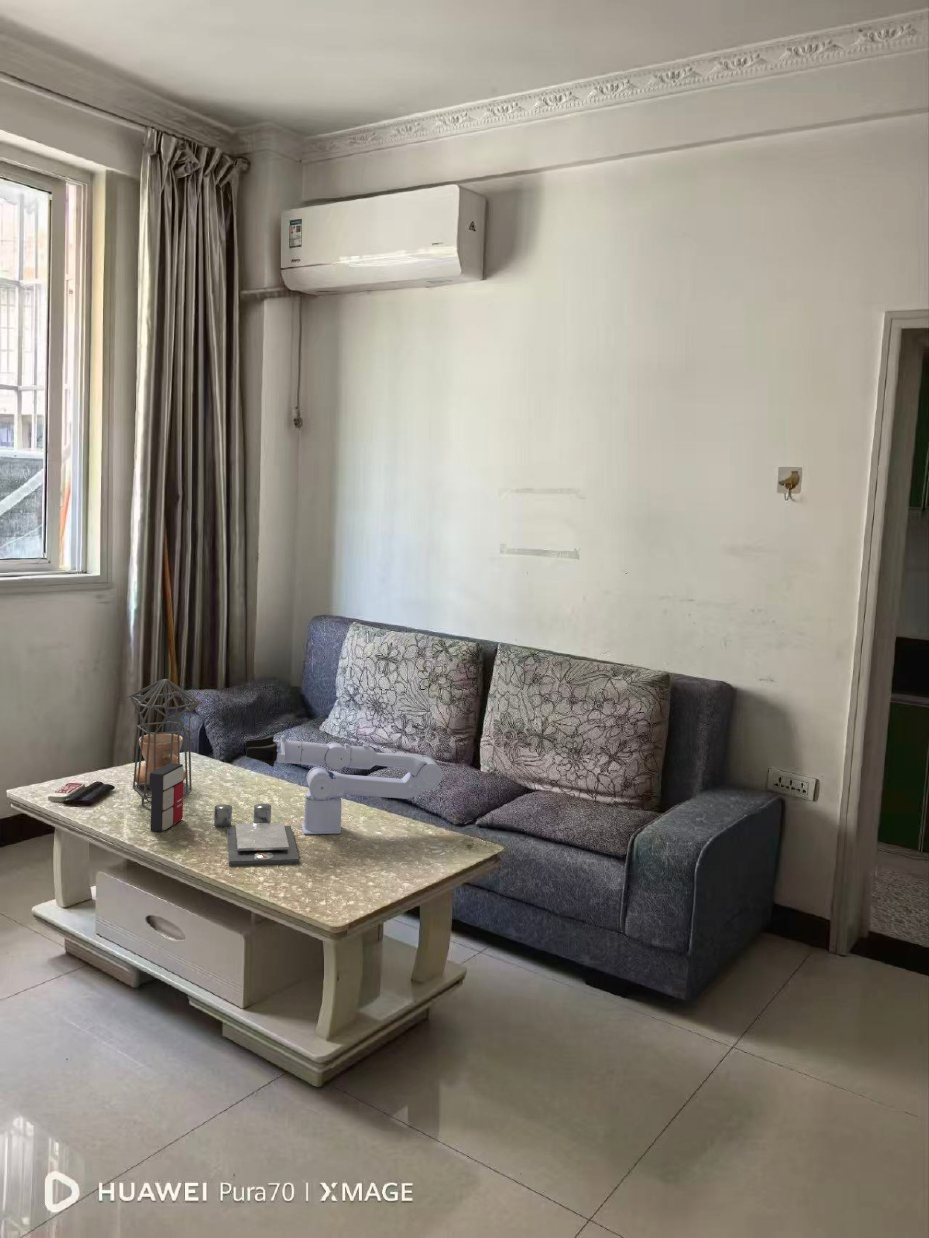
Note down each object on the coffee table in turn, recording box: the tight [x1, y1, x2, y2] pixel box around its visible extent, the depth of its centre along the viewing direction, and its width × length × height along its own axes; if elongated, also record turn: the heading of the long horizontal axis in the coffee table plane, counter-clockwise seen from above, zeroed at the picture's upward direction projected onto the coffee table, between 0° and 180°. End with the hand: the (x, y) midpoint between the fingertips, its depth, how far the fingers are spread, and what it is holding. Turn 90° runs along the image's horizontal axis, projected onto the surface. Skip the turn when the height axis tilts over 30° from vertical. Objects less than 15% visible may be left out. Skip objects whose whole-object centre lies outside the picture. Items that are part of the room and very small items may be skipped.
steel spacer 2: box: [253, 803, 272, 823], centre depth 260 cm, size 4×4×5 cm
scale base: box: [226, 825, 300, 867], centre depth 244 cm, size 16×24×2 cm, turn 14°
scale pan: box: [235, 822, 289, 851], centre depth 245 cm, size 12×18×1 cm, turn 14°
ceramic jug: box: [135, 733, 186, 789], centre depth 287 cm, size 18×14×14 cm
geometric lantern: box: [126, 678, 202, 811], centre depth 268 cm, size 16×16×35 cm
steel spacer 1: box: [213, 803, 233, 829], centre depth 257 cm, size 4×4×5 cm
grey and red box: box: [148, 763, 185, 833], centre depth 254 cm, size 11×4×15 cm, turn 168°
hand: (246, 748), depth 252 cm, fingers open, 7 cm apart
